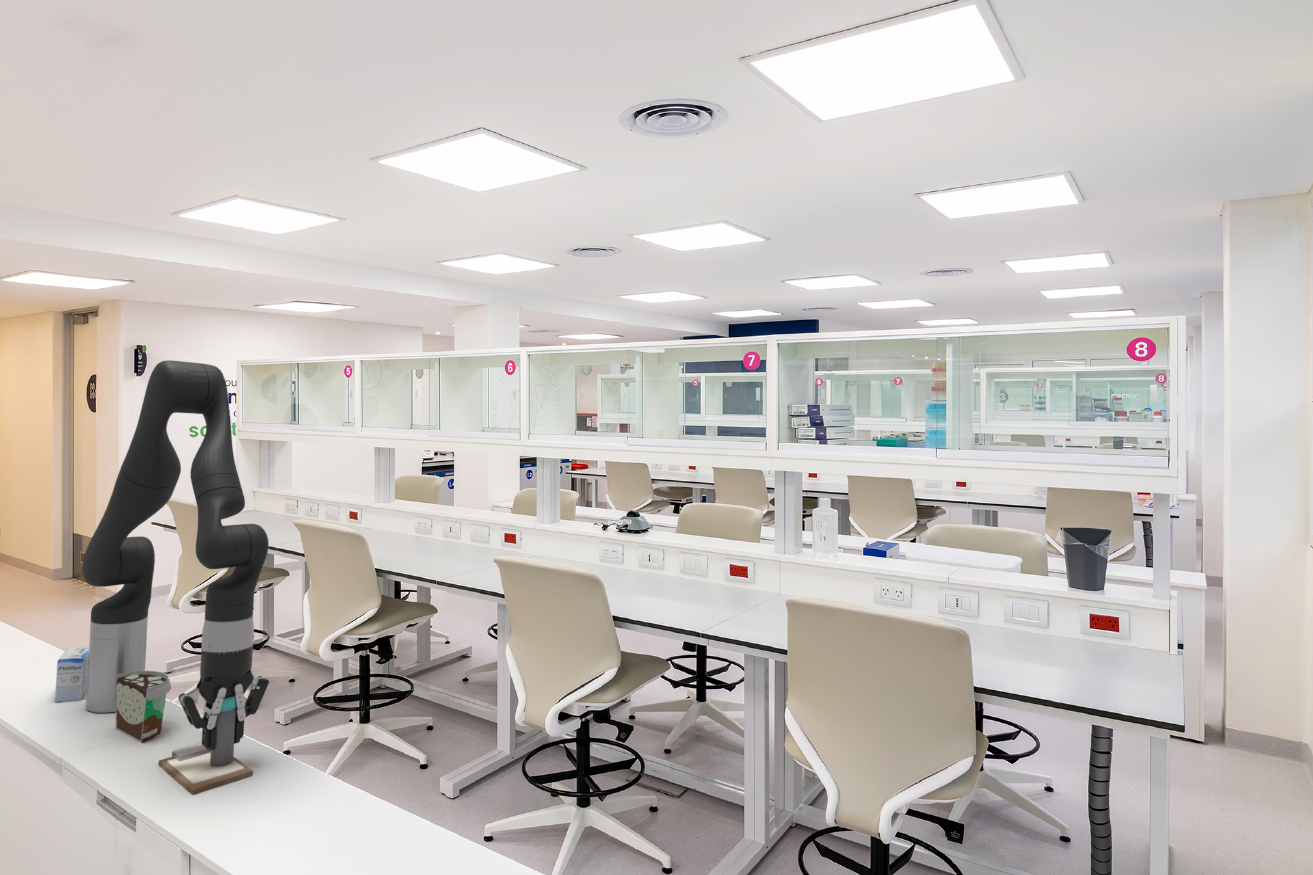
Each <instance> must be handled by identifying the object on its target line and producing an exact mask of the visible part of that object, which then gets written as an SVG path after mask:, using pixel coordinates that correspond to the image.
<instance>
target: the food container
mask: <svg viewBox="0 0 1313 875" xmlns="http://www.w3.org/2000/svg"><path fill="white" fill-rule="evenodd" d="M114 685H116V712H115V730H116V731H117V732H120V733H122V734H124V735H126V736H127V737H129V738H131V739H133V740H135V741H137V742H139V743H140V742H141V744H143V743H146V742H149V741H150V740H152V739H154V738H157V737H158V736H159V735H160V734H161V731H162V727H163V726H162V725H163V718H164V711H165V706H166V699H167V694H168V693H169V692H170V691H171V690H172V684H171V680H170V678H169V675H168V674H167V673H164V672H162V671H157V670H156V671H155V670H145V671H133V672H125V673H120V674H116V677H115V682H114ZM148 740H149V741H148Z"/></svg>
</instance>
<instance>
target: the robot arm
mask: <svg viewBox="0 0 1313 875" xmlns="http://www.w3.org/2000/svg"><path fill="white" fill-rule="evenodd" d="M147 381H148V382H147V385H146V388H145V391H144V398H143V399H142V400H143V401H142V404H141V405H142V406H141V409H140V413H139V416H138V420H137V424H136V426H135V427H136V428H135V429H134V433H133V437H132V439H131V442H130V445H129V447H128V449H127V452H126V453H125V454H126V455H125V457H124V459H123V461H122V463H121V467H120V469H119V472H118V474H117V477H116V480H115V482H114V486H113V488H112V489H113V490H112V493H111V495H110V498H109V499H108V500H109V501H108V503H107V506H106V507H105V511H104V514H103V515H102V517H101V520H100V522H99V523H98V525H97V527H96V529H95V531H94V533H93V536H92V537H91V539H90V540H89V543H88V545H87V546H86V549H85V552H84V555H83V559H82V564H81V572H82V577H83V580H84V581H85V582H86V583H87V584H88V585H89V586H91V587H95V588H96V587H98V588H100V587H102V588H103V587H104V588H105V587H113V586H114V587H115V586H121V585H123V586H122V588H121V589H120V590H118V591H117V592H115V593H114V594H113V595H111V596H110V597H107V598H106V599H103V600H101V601H98V602H97V603H95V604H94V605H93V606H92V608H91V611H90V628H89V646H88V647H89V663H88V682H87V691H86V699H85V700H86V703H85V705H86V706H85V709H86V710H87V711H89V712H92V713H98V714H99V713H101V714H102V713H116V685H114V682H115V677H116V674H120V673H125V672H133V671H146V658H147V639H148V621H149V620H148V619H149V618H148V617H149V608H150V604H151V600H152V590H153V588H152V587H153V581H154V580H153V579H154V572H155V563H156V560H155V559H156V557H155V556H156V554H155V548H154V544H153V543H152V541H151V540H150V539H149V538H148V537H147V536H129V535H130V534H131V533H132V532H133V531H134V530H136V529H137V528H138V527H139V526H141V525H142V524H143V523H145V522H146V521H147V520H148V519H150V518H151V517H153V516H154V515H155V514H157V512H159V511H160V510H161V509H162V508H164V507H165V506H166V505H167V504H168V502H169V500H171V498H172V496H173V494H174V491H175V490H176V489H175V488H176V486H177V484H178V481H179V478H180V476H181V472H182V466H181V460H180V458H179V456H178V454H177V451H176V450H175V447H174V446H173V444H172V442H171V440H170V438H169V437H170V436H169V433H168V432H167V431H168V429H167V428H168V422H169V420H170V418H171V416H172V415H173V414H175V413H177V414H195V415H202V417H203V419H204V422H205V427H206V429H205V434H204V438H203V440H202V442H201V444H200V446H199V448H198V449H197V452H196V454H195V455H194V457H193V459H192V462H191V466H190V482H191V487H192V489H193V490H192V491H193V494H194V498H195V504H196V506H197V531H196V538H195V555H196V558H197V560H198V562H199V564H201V565H202V566H203V567H205V568H207V569H209V570H221V569H229V568H234V570H233V572H232V573H230V575H229V576H227V577H226V578H223V579H220V580H217V581H215V582H212V583H211V584H210V585H209V586H208V587H207V588H206V593H205V609H204V622H203V627H202V633H201V650H200V651H201V652H200V668H199V669H200V670H199V674H200V675H199V677H200V678H199V681H198V683H197V685H196V687H195V688H194V689H193V690H191V691H189V692H187V693H185V692H181V693H180V694H179V695H178V697H177V698H178V701H179V702H180V705H181V708H182V709H183V710H182V711H183V712H184V714H185V716H186V718H187V721H188V723H189V725H191V726H192V727H194V728H195V729H196V730H200V729H201V743H202V745H203V746H204V747H205V748H206V749H207V750H209V751H211V750H214V749H215V739H216V728H215V727H214V726H215V723H216V719H217V716H218V715H219V713H220V710H221V706H222V702H223V699H224V698H229V697H233V696H235V699H236V721H235V740H234V745H236V744H239V743H240V742H241V739H243V737H244V731H245V730H244V729H245V720H246V718H247V717H249V716H251V715H255V714H256V713H257V711H258V709H259V706H260V705H261V702H262V700H263V698H264V695H265V693H266V690H267V688H268V686H269V683H270V680H269V679H267V678H266V677H264V676H261V675H258V676H254V674H253V673H252V672H253V671H252V668H253V667H252V666H253V653H254V640H255V632H254V631H255V630H254V628H255V627H254V624H255V623H254V605H255V604H254V602H255V592H256V588H257V585H258V582H259V578H260V575H261V573H262V569H263V566H264V564H265V561H266V559H267V555H268V552H269V547H270V546H269V537H268V534H267V532H266V530H265V529H264V527H262V526H261V525H259V524H256V523H241V524H230V525H227V524H226V525H223V524H222V520H225V519H229V518H232V517H233V516H234V517H235V516H236V515H238V514H240V513H241V512H242V511H243V510H244V508H245V506H246V499H245V496H244V495H245V494H244V491H243V487H242V484H241V480H240V476H239V473H238V470H237V465H236V461H235V456H234V449H233V434H232V423H231V422H232V421H231V413H230V403H229V402H230V401H229V392H228V387H227V383H226V379H225V376H224V374H223V372H222V370H221V369H220V368H218V366H216V365H213V364H207V363H200V362H192V361H191V362H190V361H181V360H180V361H179V360H170V359H169V360H168V359H167V360H161V361H159V362H157V364H156V365H155V367H154V368H153V369H152V372H151V373H150V376H149V378H148V380H147ZM249 687H250V691H249V693H248V696H247V698H246V700H245V696H244V695H245V693H246V692H247V691H248V689H249ZM200 696H201V697H202V698H203V700H204V704H203V708H202V710H203V712H202V713H203V714H202V717H201V715H200V713H199V709H198V708H197V706H196V705H197V704H198V702H199V697H200Z"/></svg>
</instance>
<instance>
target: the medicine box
mask: <svg viewBox="0 0 1313 875" xmlns="http://www.w3.org/2000/svg"><path fill="white" fill-rule="evenodd" d="M88 663H89V646H79V647H78V646H77V647H68V648H66V649H65V650H64V652H63V653H62V654H61V655H60V656H59V658H58V660H57V662H56V681H55V695H54V696H55V697H54V702H56V703H62V702H61V701H67V702H75V701H74V700H77V701H81V700H83V699H84V697H85V695H86V694H87V682H88ZM72 700H73V701H72ZM59 701H60V702H59Z"/></svg>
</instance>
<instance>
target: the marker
mask: <svg viewBox="0 0 1313 875" xmlns="http://www.w3.org/2000/svg"><path fill="white" fill-rule="evenodd" d="M235 721H236V699H235V696H233V697H229V698H224V699H223V702H222V706H221V710H220V713H219V715H218V716H217V719H216V723H215V726H214V727H215V728H216V739H215V749H214V750H211V753H210V764H211V765H216V766H219V765H225V764H228V763H230V762H232V761H233V758H234V757H235V756H234V755H235V744H234V740H235Z"/></svg>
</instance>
